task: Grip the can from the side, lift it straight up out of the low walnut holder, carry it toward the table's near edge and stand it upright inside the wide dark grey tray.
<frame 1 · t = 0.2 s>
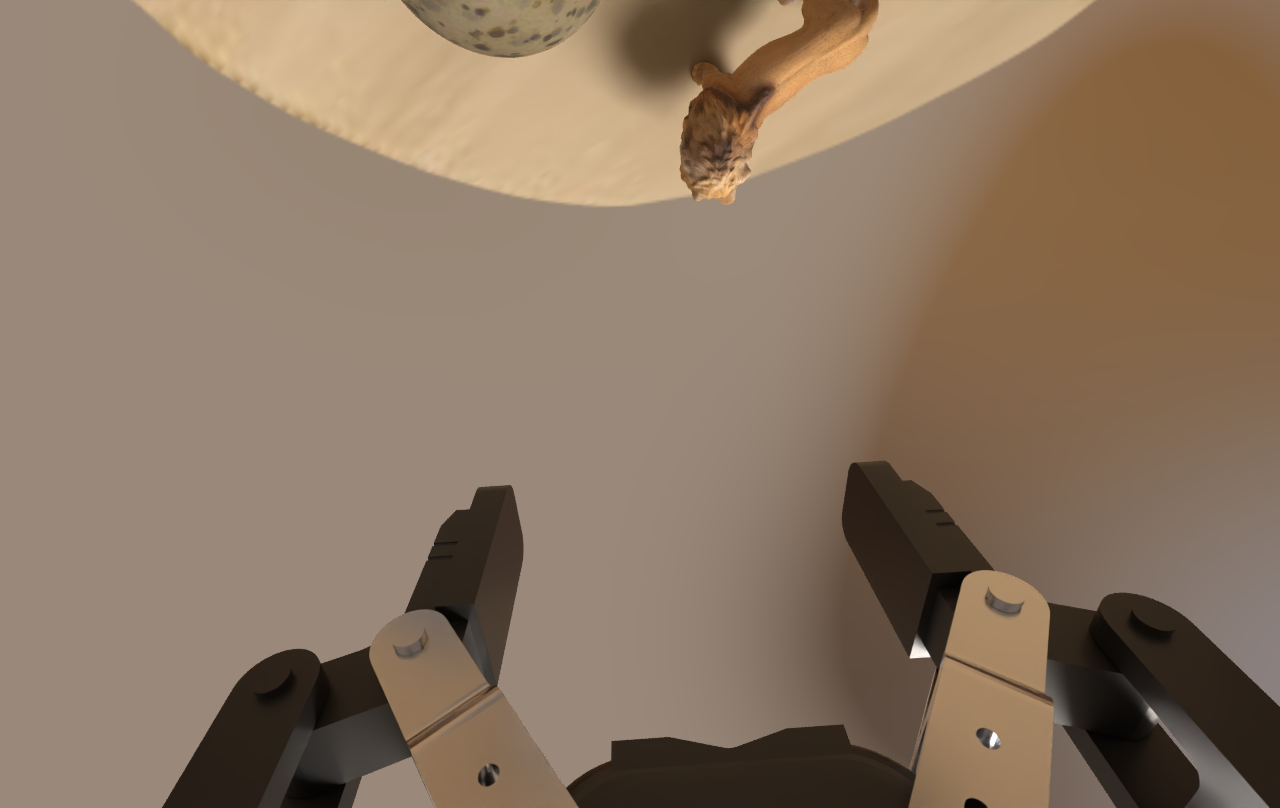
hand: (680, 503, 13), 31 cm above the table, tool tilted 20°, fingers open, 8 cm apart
lion figurine: (758, 59, 34), on the table
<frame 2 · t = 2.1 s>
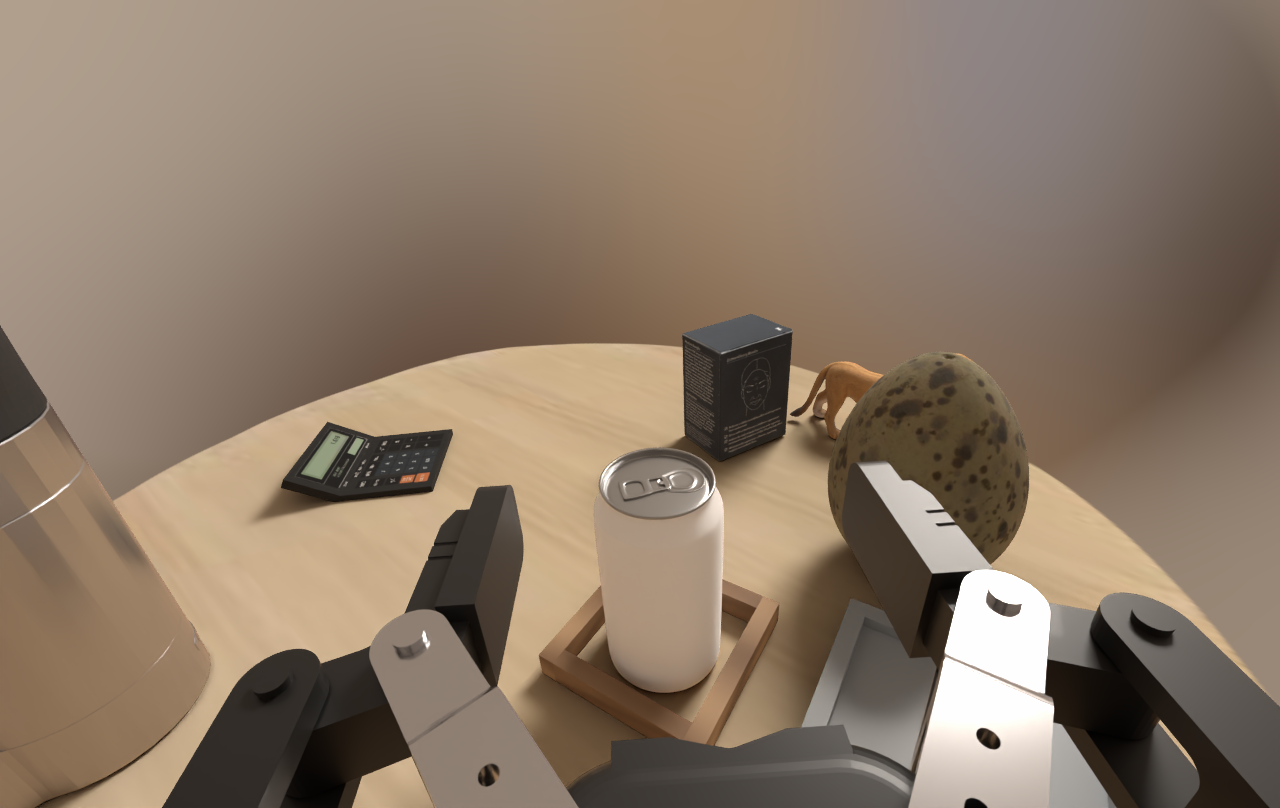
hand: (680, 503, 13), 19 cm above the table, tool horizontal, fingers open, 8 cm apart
lion figurine: (874, 438, 51), on the table
holder: (664, 645, 32), on the table
box: (733, 438, 52), on the table
can: (664, 648, 32), resting in holder
calculator: (380, 471, 51), on the table
tray: (954, 772, 25), on the table
decorative egg: (901, 563, 37), on the table
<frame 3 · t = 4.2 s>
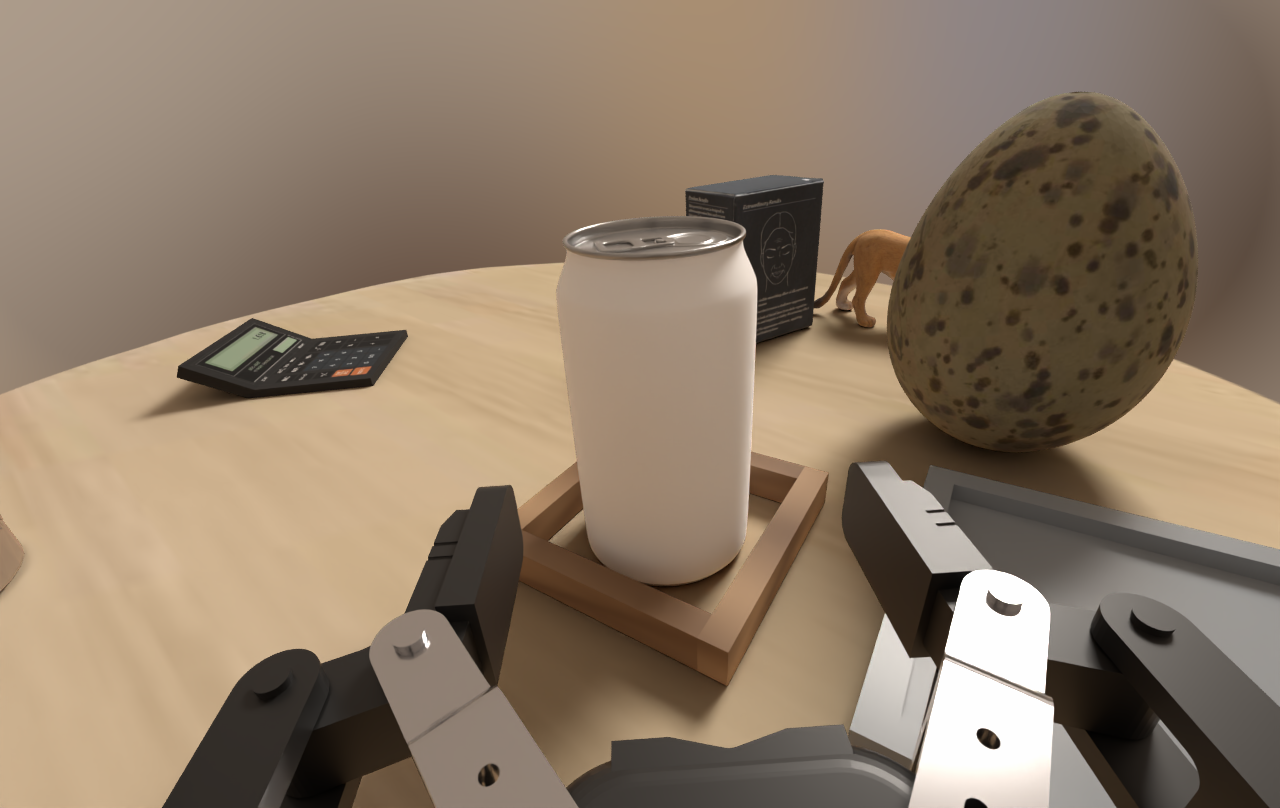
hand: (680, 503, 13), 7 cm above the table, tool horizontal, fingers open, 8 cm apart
lion figurine: (914, 326, 42), on the table
holder: (666, 532, 23), on the table
box: (749, 331, 42), on the table
can: (666, 536, 23), resting in holder
calculator: (313, 372, 41), on the table
tray: (1133, 681, 16), on the table
decorative egg: (984, 440, 28), on the table
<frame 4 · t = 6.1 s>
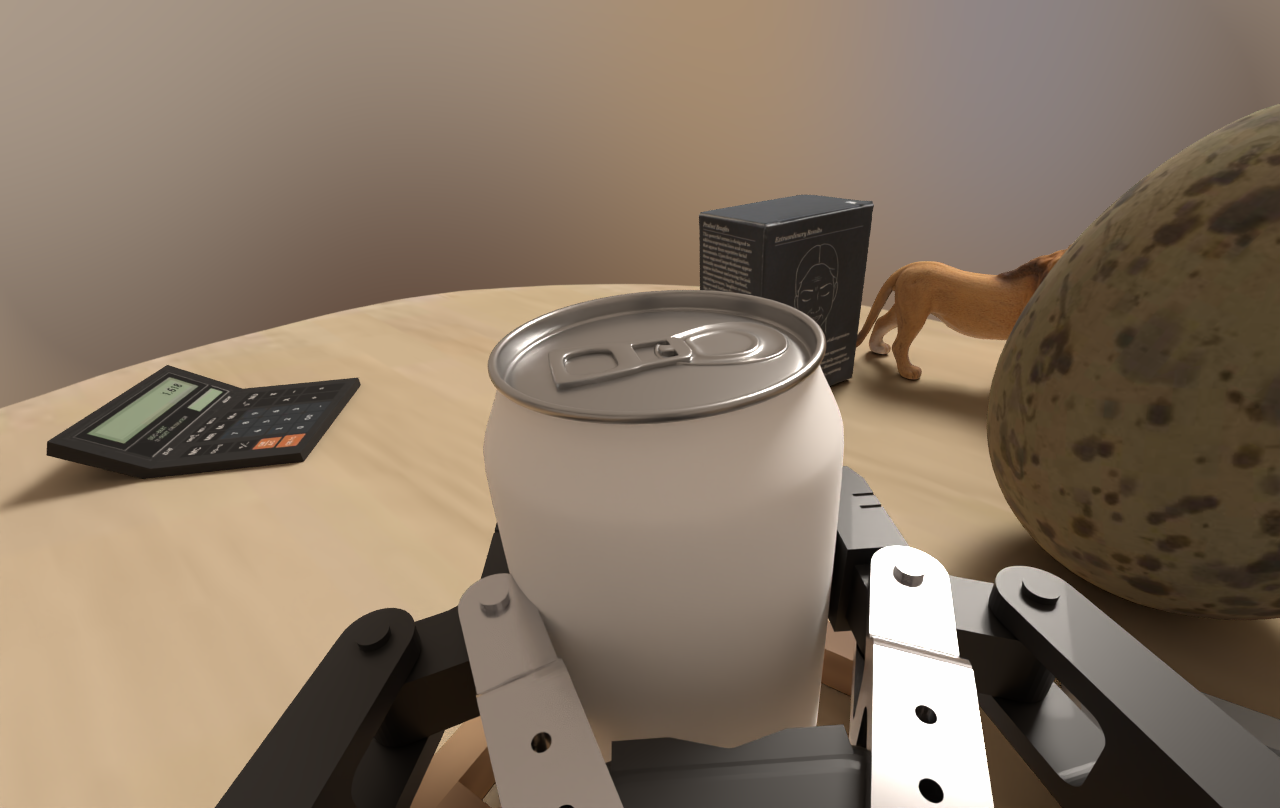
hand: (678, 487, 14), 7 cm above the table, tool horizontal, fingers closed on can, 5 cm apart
lion figurine: (967, 377, 34), on the table
holder: (684, 757, 15), on the table
box: (774, 384, 35), on the table
can: (685, 758, 15), resting in holder, touching gripper
calculator: (238, 436, 33), on the table
decorative egg: (1119, 574, 20), on the table
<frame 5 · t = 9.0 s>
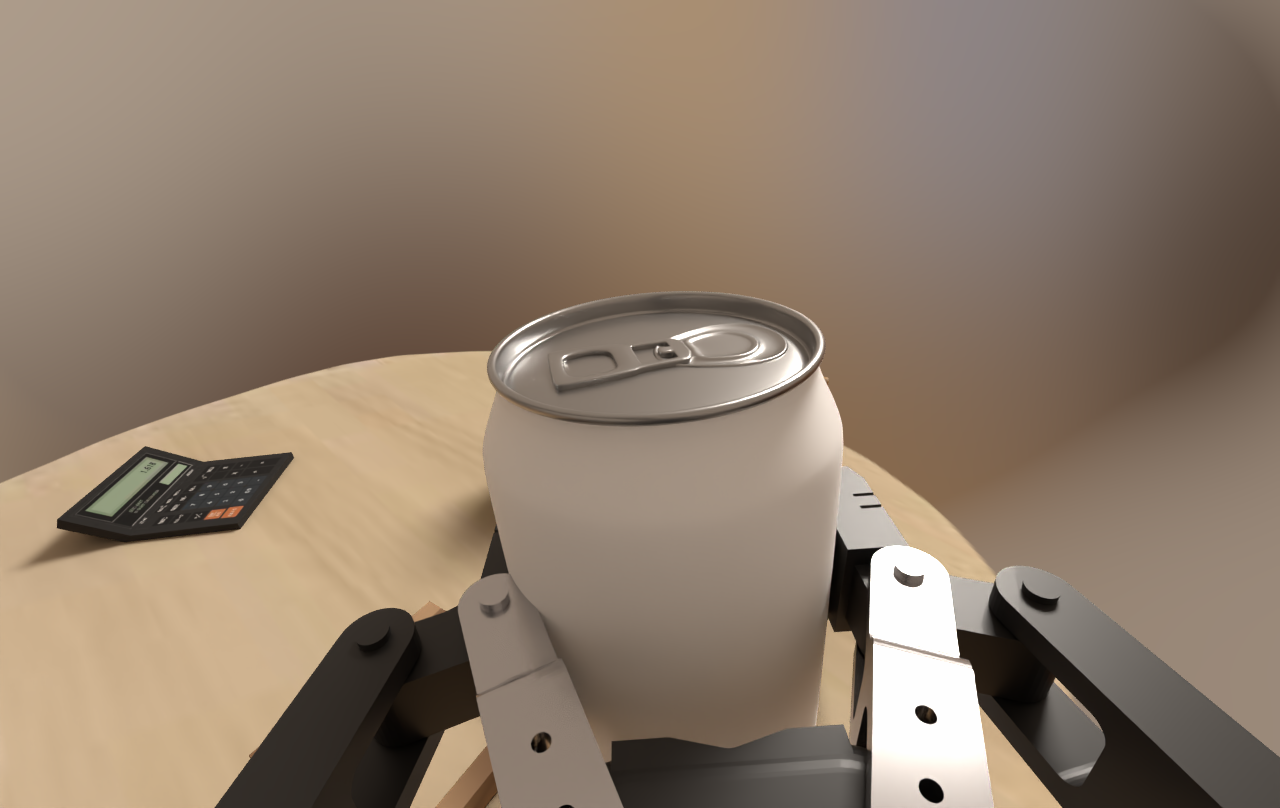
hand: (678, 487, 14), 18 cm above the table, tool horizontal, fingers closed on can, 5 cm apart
holder: (420, 735, 27), on the table
can: (684, 760, 15), point 11 cm above the table, touching gripper
calculator: (197, 503, 45), on the table
when the fingers open (8 cm above the table, at t = 12.0 s): can stays where it is, resting on tray.
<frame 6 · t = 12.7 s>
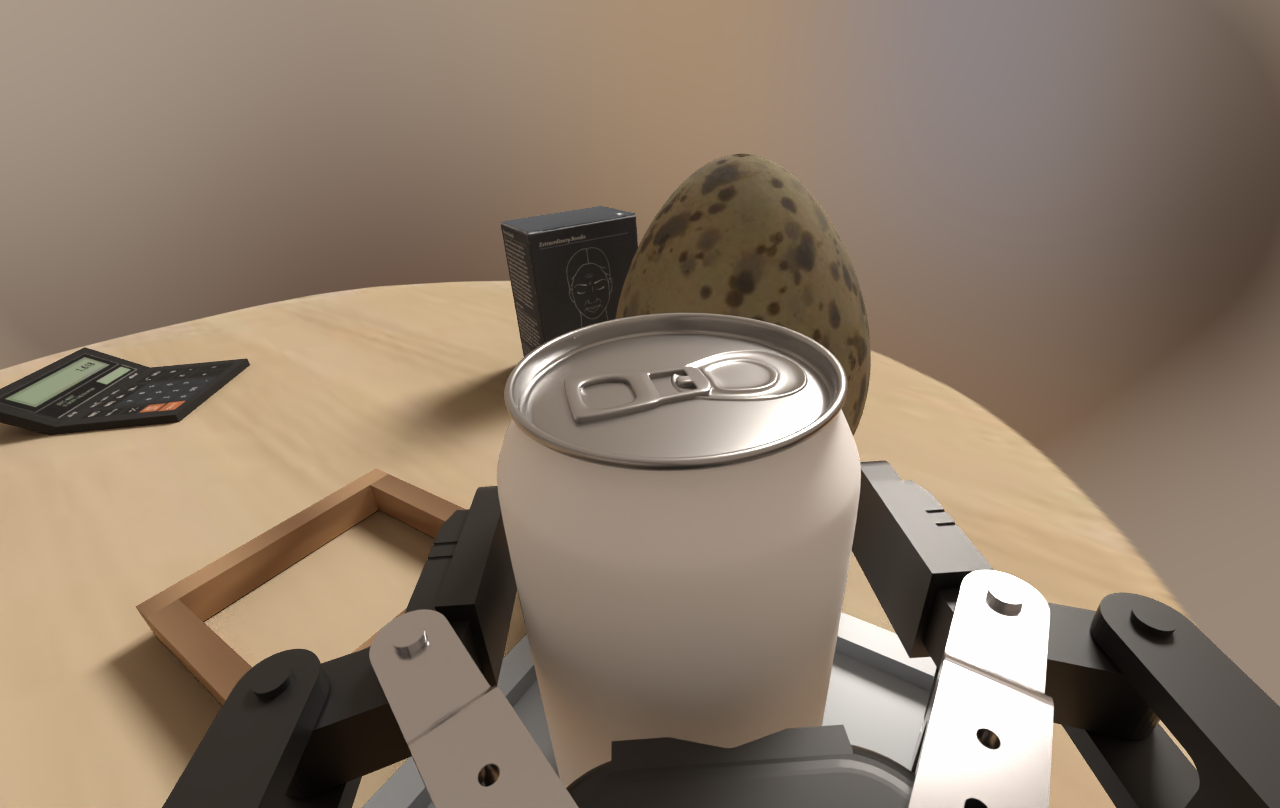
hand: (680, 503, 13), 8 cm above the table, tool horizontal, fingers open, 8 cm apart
holder: (351, 596, 22), on the table
box: (584, 363, 42), on the table
can: (684, 772, 15), point 1 cm above the table, touching tray
calculator: (137, 404, 41), on the table
tray: (693, 781, 15), on the table
decorative egg: (732, 492, 27), on the table
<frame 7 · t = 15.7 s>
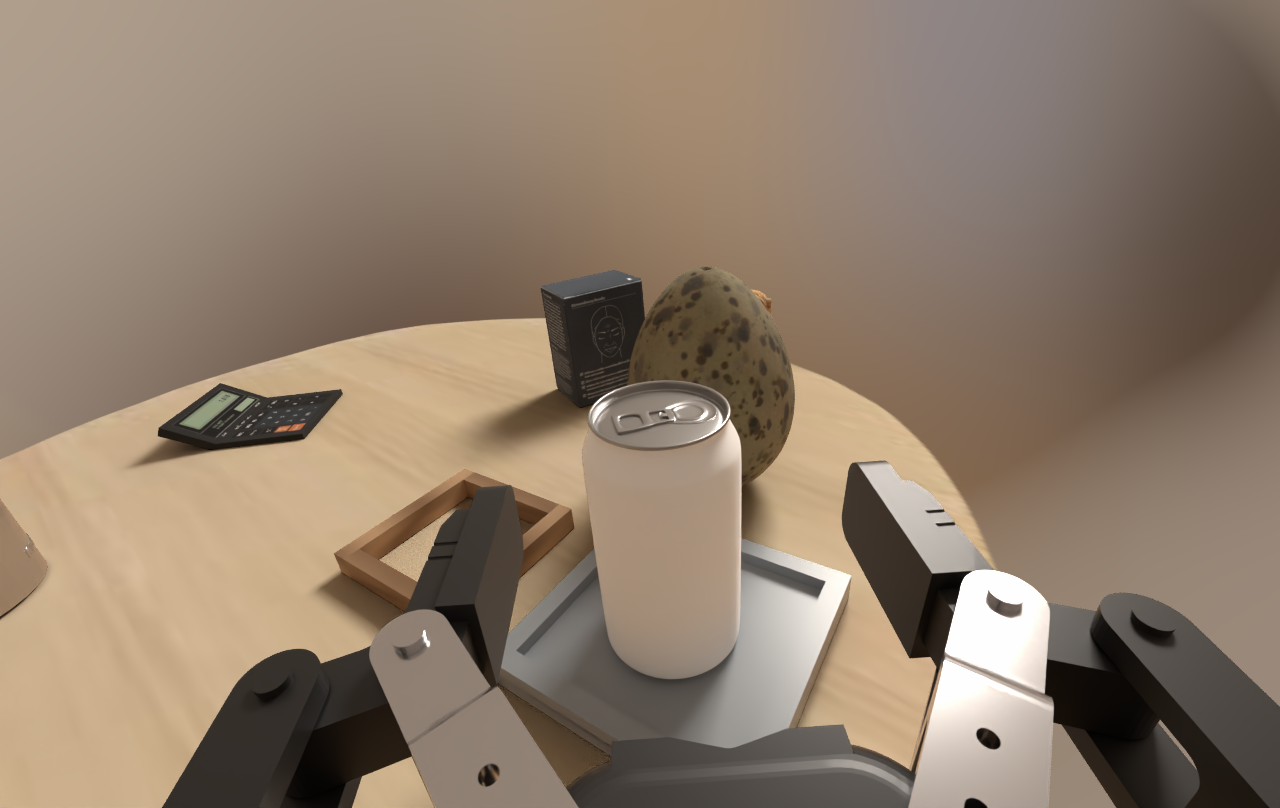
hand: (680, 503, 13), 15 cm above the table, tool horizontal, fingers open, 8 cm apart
holder: (461, 549, 34), on the table
box: (603, 389, 54), on the table
can: (673, 629, 27), point 1 cm above the table, touching tray
calculator: (264, 426, 53), on the table
tray: (678, 636, 27), on the table
decorative egg: (710, 482, 39), on the table
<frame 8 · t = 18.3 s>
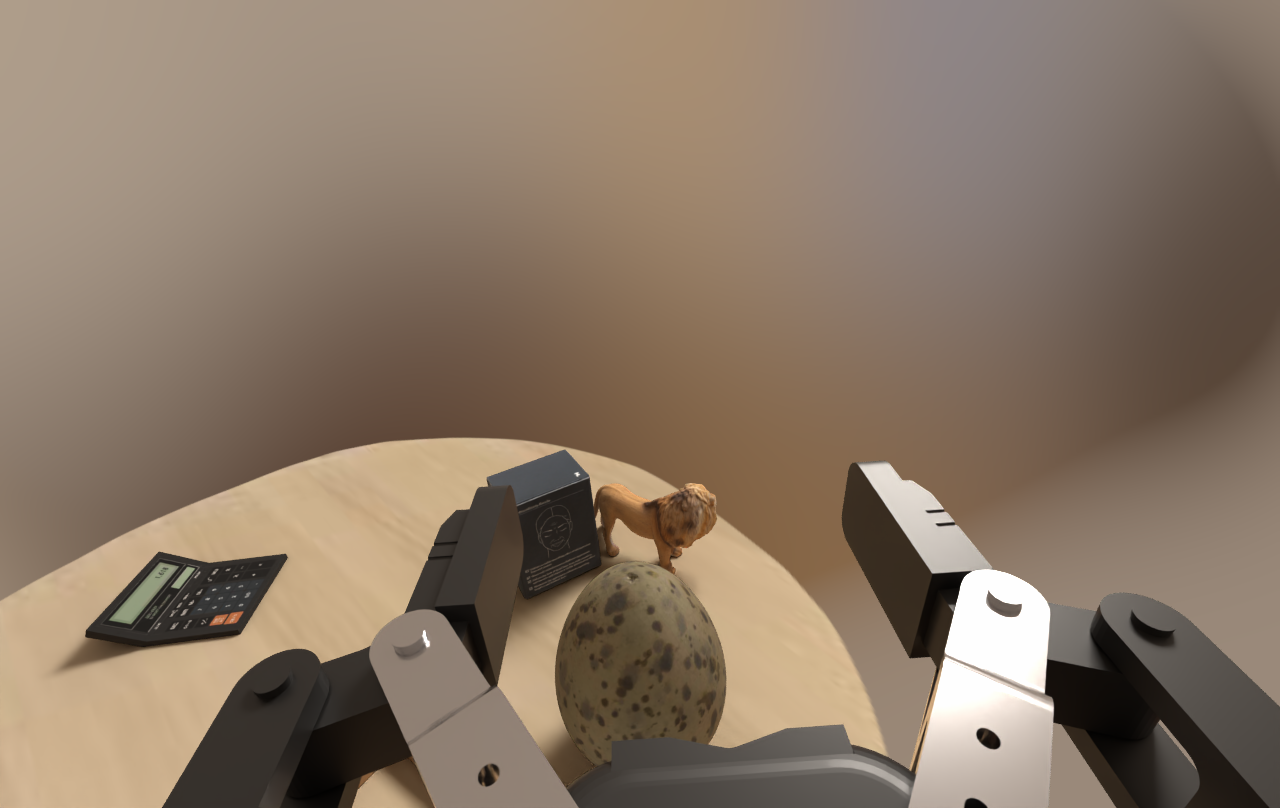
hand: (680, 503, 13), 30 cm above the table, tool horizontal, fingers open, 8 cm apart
lion figurine: (649, 551, 55), on the table
box: (553, 566, 53), on the table
calculator: (203, 604, 52), on the table
decorative egg: (646, 736, 38), on the table
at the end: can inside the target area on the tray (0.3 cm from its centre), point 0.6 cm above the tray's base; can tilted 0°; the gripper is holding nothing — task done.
